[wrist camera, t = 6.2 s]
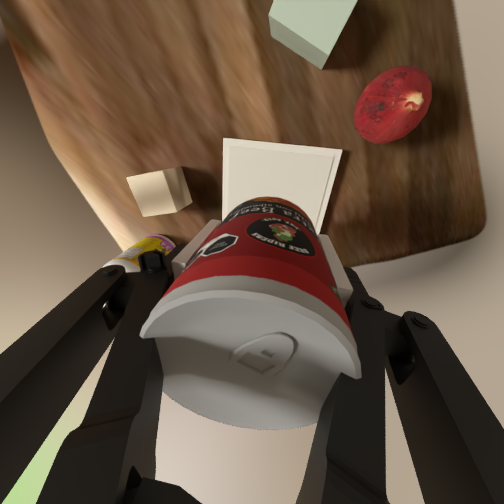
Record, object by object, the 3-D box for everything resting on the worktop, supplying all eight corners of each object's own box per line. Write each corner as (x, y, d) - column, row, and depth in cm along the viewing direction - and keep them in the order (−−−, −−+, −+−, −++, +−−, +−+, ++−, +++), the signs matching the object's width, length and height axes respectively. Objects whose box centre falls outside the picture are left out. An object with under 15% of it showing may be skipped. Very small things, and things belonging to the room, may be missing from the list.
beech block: (150, 172, 28) (126, 177, 24) (181, 166, 27) (162, 170, 23) (163, 206, 31) (143, 216, 26) (192, 202, 30) (177, 212, 25)
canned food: (333, 212, 14) (429, 348, 5) (290, 291, 18) (297, 449, 9) (234, 177, 14) (134, 247, 5) (212, 264, 18) (134, 397, 9)
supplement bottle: (184, 266, 36) (139, 322, 24) (151, 266, 37) (94, 320, 26) (174, 231, 32) (116, 278, 21) (138, 233, 34) (66, 278, 22)
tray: (225, 137, 25) (223, 137, 24) (340, 149, 24) (342, 149, 22) (224, 238, 32) (221, 242, 31) (312, 251, 31) (313, 255, 29)
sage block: (293, -19, 18) (295, -58, 15) (347, 19, 19) (361, -9, 15) (271, 37, 20) (268, 14, 17) (321, 70, 21) (328, 55, 17)
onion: (339, 142, 23) (363, 142, 16) (352, 79, 21) (387, 47, 14) (392, 143, 23) (440, 144, 16) (413, 78, 20) (482, 43, 13)
